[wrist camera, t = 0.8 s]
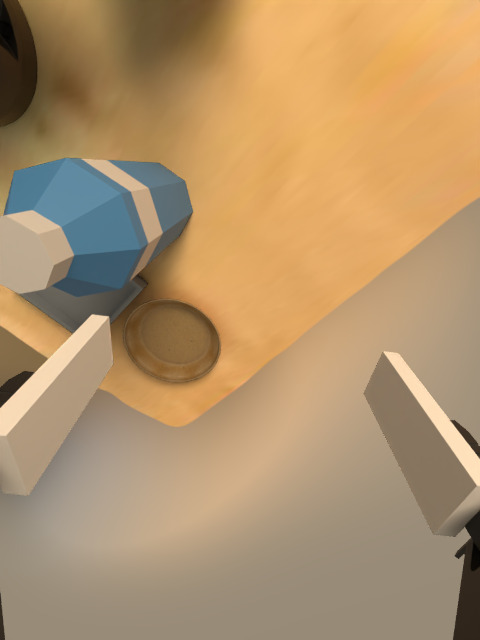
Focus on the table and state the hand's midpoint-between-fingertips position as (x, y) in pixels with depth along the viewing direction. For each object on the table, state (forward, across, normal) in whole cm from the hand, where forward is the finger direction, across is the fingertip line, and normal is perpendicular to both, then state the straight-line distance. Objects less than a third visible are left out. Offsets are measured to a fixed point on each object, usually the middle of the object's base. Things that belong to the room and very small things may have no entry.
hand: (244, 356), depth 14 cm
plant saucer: (+28, -9, -18) cm, 34 cm away
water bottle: (+28, -12, +2) cm, 30 cm away
